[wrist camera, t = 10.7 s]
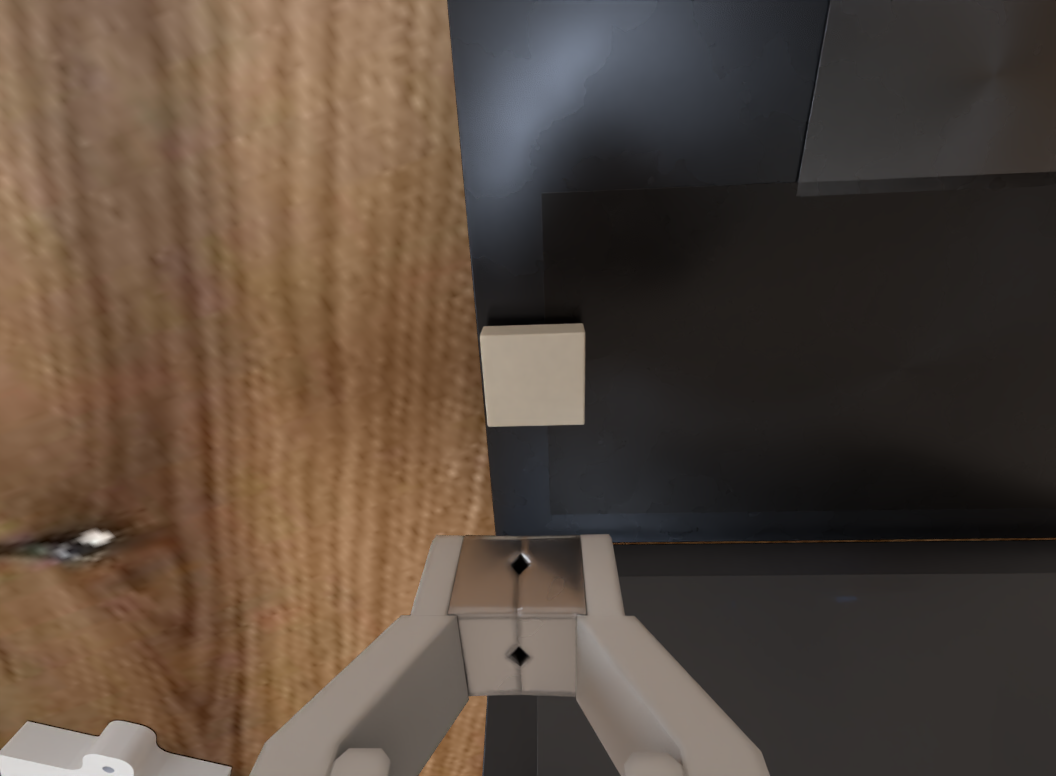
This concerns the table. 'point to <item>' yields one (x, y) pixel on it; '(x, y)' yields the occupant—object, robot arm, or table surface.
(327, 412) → the table surface
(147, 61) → the table surface
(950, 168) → the laptop
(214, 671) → the table surface
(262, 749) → the robot arm
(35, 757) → the mounting plate
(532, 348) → the off-white flat block
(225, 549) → the table surface
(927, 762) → the laptop screen
